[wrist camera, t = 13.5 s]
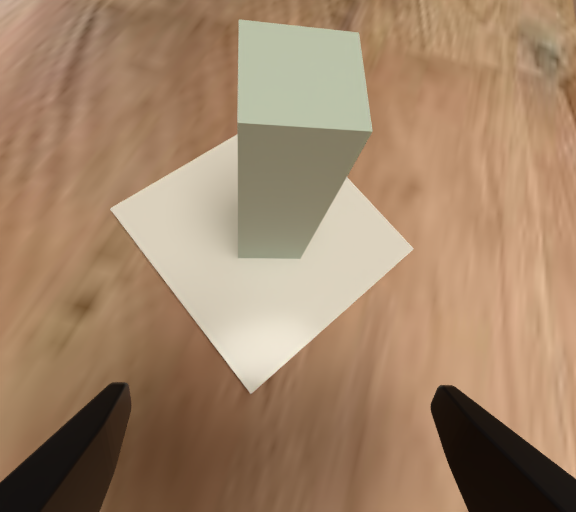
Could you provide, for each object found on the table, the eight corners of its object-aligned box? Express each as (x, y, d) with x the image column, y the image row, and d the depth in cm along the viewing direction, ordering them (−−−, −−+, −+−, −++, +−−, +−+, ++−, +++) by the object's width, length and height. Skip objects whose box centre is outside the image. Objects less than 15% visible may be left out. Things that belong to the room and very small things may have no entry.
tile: (250, 393, 22) (250, 394, 21) (113, 213, 24) (109, 208, 24) (408, 252, 27) (413, 248, 26) (281, 114, 29) (282, 107, 29)
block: (238, 258, 24) (237, 122, 11) (238, 201, 25) (238, 19, 12) (300, 258, 24) (372, 131, 11) (297, 203, 26) (358, 32, 13)
